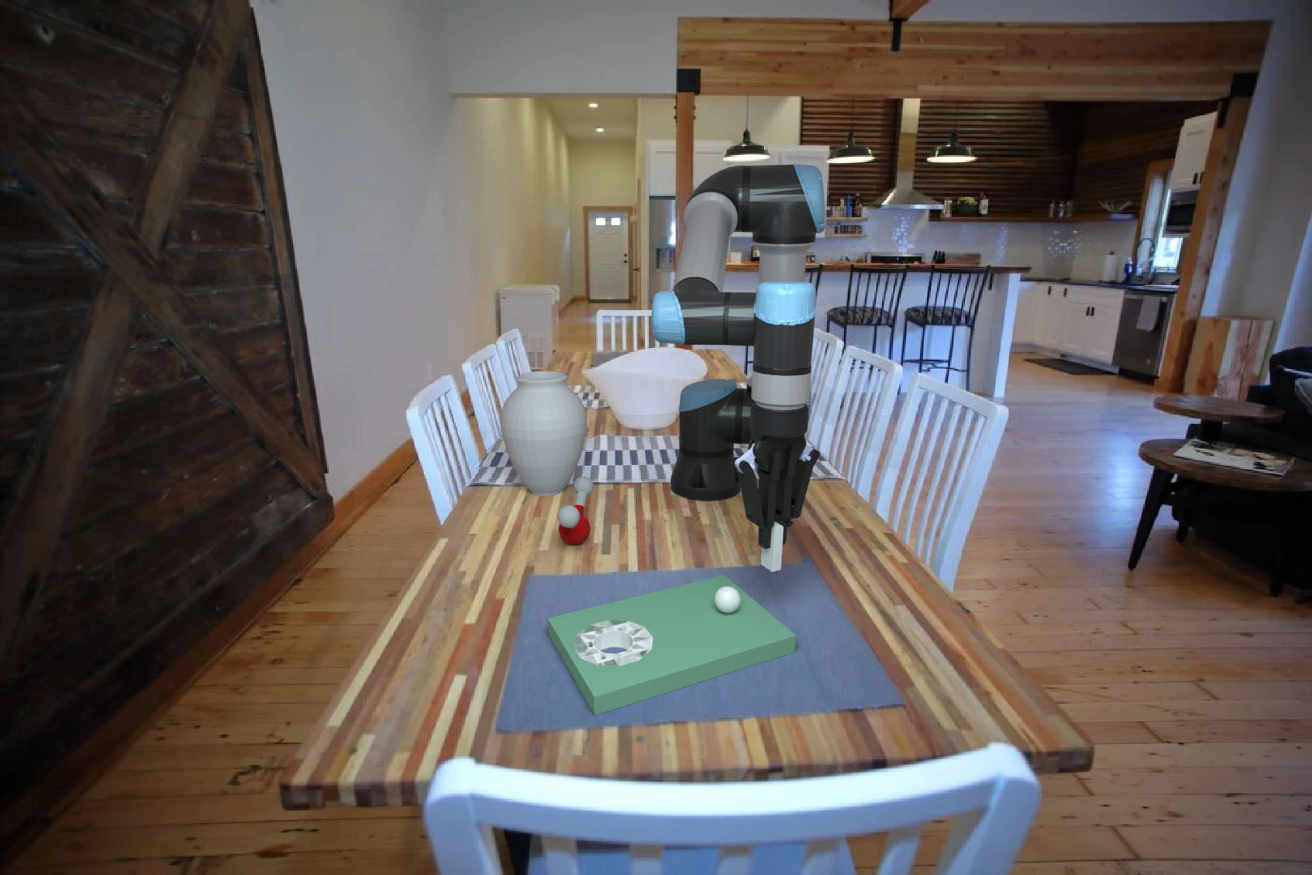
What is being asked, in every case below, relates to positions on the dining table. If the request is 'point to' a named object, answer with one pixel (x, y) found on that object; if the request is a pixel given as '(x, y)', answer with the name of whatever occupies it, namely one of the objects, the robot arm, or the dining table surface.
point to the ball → (727, 599)
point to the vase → (544, 431)
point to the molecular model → (576, 514)
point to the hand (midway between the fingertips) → (770, 566)
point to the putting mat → (664, 642)
